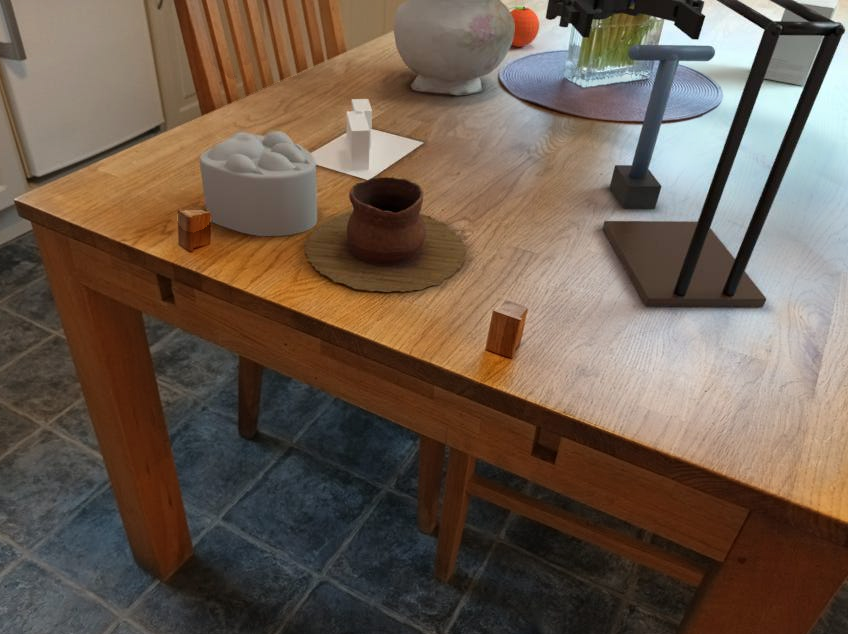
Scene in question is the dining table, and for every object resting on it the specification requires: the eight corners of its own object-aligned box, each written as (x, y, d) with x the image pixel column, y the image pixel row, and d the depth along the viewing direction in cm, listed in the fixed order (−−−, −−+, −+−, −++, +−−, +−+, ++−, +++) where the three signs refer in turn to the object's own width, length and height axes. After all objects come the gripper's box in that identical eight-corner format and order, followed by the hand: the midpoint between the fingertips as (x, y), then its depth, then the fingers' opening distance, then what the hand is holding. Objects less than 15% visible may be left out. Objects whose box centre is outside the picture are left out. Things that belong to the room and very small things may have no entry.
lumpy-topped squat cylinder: (247, 184, 91) (240, 117, 86) (335, 208, 87) (335, 139, 81) (195, 218, 84) (185, 147, 79) (289, 246, 80) (285, 173, 74)
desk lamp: (600, 224, 85) (662, -25, 68) (699, 225, 85) (786, -23, 69) (645, 306, 72) (737, 24, 55) (763, 306, 72) (889, 26, 56)
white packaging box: (803, 86, 125) (835, 8, 117) (758, 78, 128) (786, 1, 120) (810, 75, 130) (840, -1, 122) (766, 67, 133) (793, -8, 125)
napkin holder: (370, 180, 93) (370, 137, 89) (298, 160, 97) (296, 118, 94) (424, 142, 103) (427, 102, 99) (357, 125, 107) (358, 86, 104)
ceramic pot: (396, 315, 70) (400, 252, 66) (271, 251, 79) (266, 192, 74) (496, 245, 81) (505, 188, 76) (376, 196, 89) (378, 142, 85)
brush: (588, 186, 93) (622, 37, 81) (661, 187, 93) (705, 38, 82) (600, 208, 88) (639, 53, 77) (677, 208, 88) (727, 54, 77)
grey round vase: (426, 63, 134) (426, -93, 119) (528, 71, 127) (542, -94, 112) (377, 100, 119) (369, -74, 104) (490, 111, 112) (499, -74, 97)
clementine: (489, 45, 141) (493, 5, 136) (507, 37, 145) (513, -1, 140) (524, 53, 137) (530, 13, 132) (542, 45, 141) (549, 6, 136)
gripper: (674, 15, 106) (733, 60, 90) (507, 11, 105) (536, 57, 89) (690, -42, 101) (756, -5, 85) (515, -46, 101) (547, -10, 84)
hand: (643, 26), depth 87 cm, fingers open, 13 cm apart
